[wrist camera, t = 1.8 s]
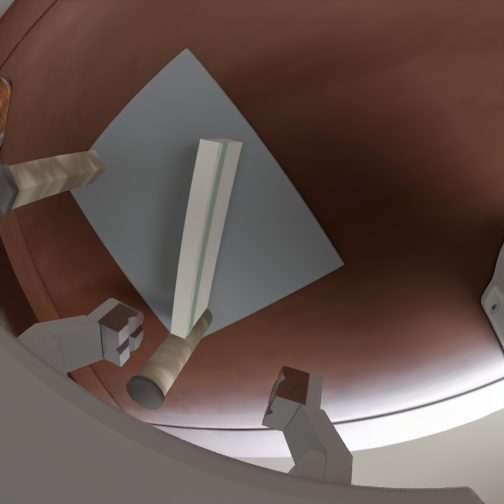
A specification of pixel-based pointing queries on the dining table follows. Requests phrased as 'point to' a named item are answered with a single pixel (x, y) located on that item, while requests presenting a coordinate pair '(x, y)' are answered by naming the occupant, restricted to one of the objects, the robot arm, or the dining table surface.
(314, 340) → the dining table surface
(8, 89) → the tin
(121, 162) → the mat
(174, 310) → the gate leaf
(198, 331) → the gate posts
